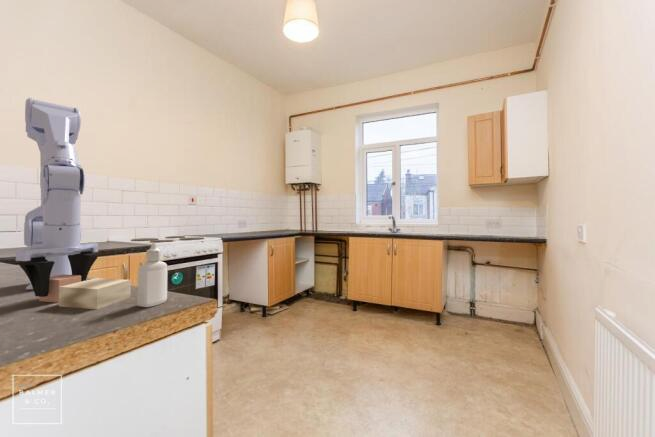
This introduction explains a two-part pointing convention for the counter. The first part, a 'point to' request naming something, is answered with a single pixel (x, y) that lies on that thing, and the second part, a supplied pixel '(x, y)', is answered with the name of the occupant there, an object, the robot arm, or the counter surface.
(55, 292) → the terracotta cube
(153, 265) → the eye dropper bottle
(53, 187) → the robot arm
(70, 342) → the counter surface
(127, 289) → the birch block
